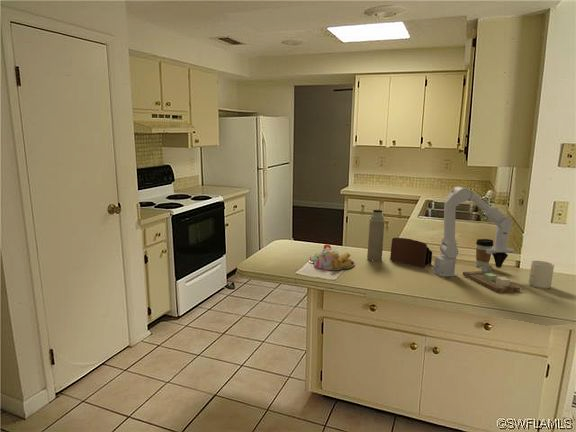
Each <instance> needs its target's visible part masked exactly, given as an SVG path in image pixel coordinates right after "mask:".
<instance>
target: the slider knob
mask: <svg viewBox="0 0 576 432" xmlns="http://www.w3.org/2000/svg"><path fill="white" fill-rule="evenodd" d="M492 267H493V265H491V264H490V263H489V264H482V268H480V269H481V270H480V271H481V272H483V273H492V271H493V268H492Z"/></svg>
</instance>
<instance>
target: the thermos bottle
mask: <svg viewBox="0 0 576 432" xmlns="http://www.w3.org/2000/svg"><path fill="white" fill-rule="evenodd" d="M372 211H373V213H372V215H371V216H370V217H371V218H370V219H369V224H368V225H369V228H368V240H367V241H368V243H367V256H366V259H367V258H368V259H370V260H373V261H372V262H381V261H382V259H383V247H384V245H383V244H384V236H385V235H384V234H385V223H386V222H385V221H386V220H384V215H383V210H381V209H373V210H372ZM368 259H367V260H368ZM370 260H369V261H370Z"/></svg>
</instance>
